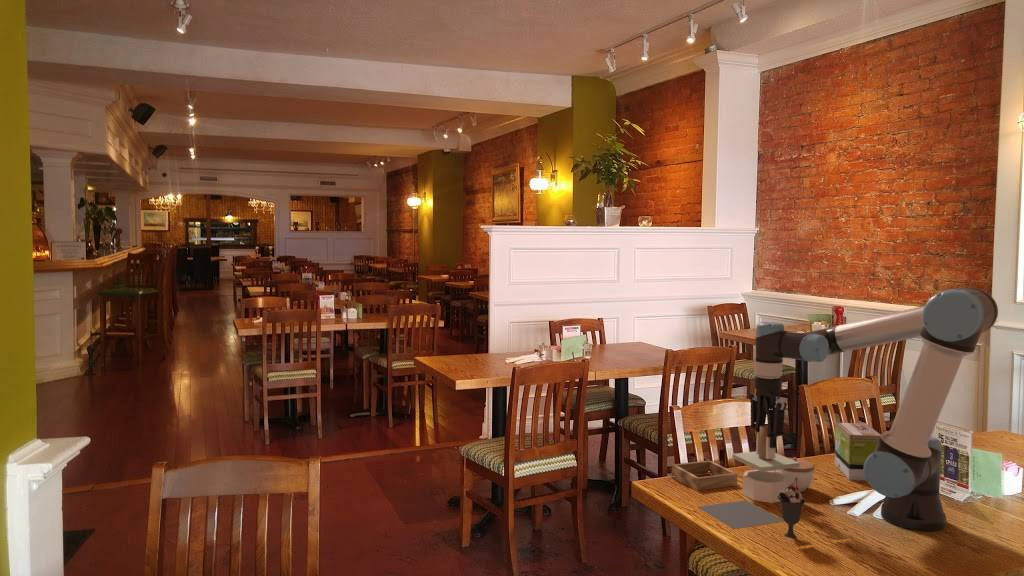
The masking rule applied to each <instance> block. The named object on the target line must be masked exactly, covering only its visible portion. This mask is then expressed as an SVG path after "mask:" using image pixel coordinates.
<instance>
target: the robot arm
mask: <svg viewBox="0 0 1024 576" xmlns="http://www.w3.org/2000/svg"><path fill="white" fill-rule="evenodd" d="M998 307H999V306H998V304H997V302H996V300H995V299H994V297H993V296H992V295H991V294H990V293H988V291H985V290H983V289H980V288H977V287H968V286H967V287H962V288H949V289H945V290H942V291H940V292H938V293H936V294H934V295H933V296H932V297H930V298H929V300H927V302H926V303H925V305H922V306H917V307H915V308H914V307H913V308H908V309H905V310H900V311H897V312H891V313H888V314H883V315H880V316H879V315H878V316H875V317H869V318H865V319H861V320H857V321H853V322H849V323H843V324H840V325H836V326H831V327H826V328H822V329H817V330H811V331H806V332H797V331H787V330H785V325H784V324H783V323H781V322H776V321H762V322H761V321H760V322H759V323H758V324H757V325H756V329H755V337H754V339H755V350H754V351H755V357H754V374H755V376H754V377H753V387H754V389H755V390H756V391H755V393H750V394H749V396H748V397H749V401H750V428H752V429H754V431H755V442H756V445H755V446H756V447H755V451H756V454H757V455H759V436H760V426H763V425H766V420H767V426H768V433H769V435H767V436H766V459H774V458H775V453H776V449H777V443H778V440H777V439H778V437H783V435H784V427H785V426H784V424H785V423H784V422H785V413H786V412H785V411H786V408H787V402H782V401H781V397H780V392H781V391H782V388H783V378H782V375H783V363H784V362H783V359H792V360H798V361H804V362H808V363H812V362H814V363H821V362H822V363H823V362H824V361H825V359H826V358H827V357H828V356H831V355H832V356H833V355H835V354H840V353H844V352H849V351H856V350H860V349H866V348H871V347H875V346H880V345H885V344H890V343H891V344H892V343H896V342H901V341H905V340H911V339H915V338H920V339H921V342H922V343H923V346H922V348H921V350H920V353H919V355H918V358H917V360H916V363H915V364H914V365H915V366H914V369H913V370H912V373H911V376H910V379H909V382H908V384H907V387H906V389H905V391H904V394H903V396H902V399H901V402H900V404H899V406H898V409H897V411H896V415H895V417H894V419H893V421H892V425H891V427H890V429H889V430H888V431H884V432H882V433H880V434H881V436H880V439H879V441H878V444H877V446H876V449H875V451H874V453H872V454H870V455H869V456H868V458H867V459H866V461H865V463H864V468H863V470H864V475H865V478H866V479H867V481H866V482H867V483H868V485H869V486H870V488H872V489H873V490H874V491H876V492H877V493H878V494H880V495H882V496H884V500H883V502H882V504H881V507H880V516H881V518H882V519H884V520H885V521H887V522H888V523H890V524H893V525H896V526H898V527H901V528H904V529H905V528H906V529H909V530H910V529H911V530H915V531H916V530H917V531H923V532H924V531H925V532H926V531H928V532H932V531H940V530H943V529H945V528H946V525H947V517H946V514H945V512H944V509H943V504H942V501H941V497H940V488H941V466H942V453H943V450H942V442H941V441H940V440H939V439H938V438H937V437H934V436H932V434H933V431H934V430H935V427H936V425H937V422H938V421H939V417H940V414H941V412H942V410H943V408H944V405H945V403H946V400H947V398H948V395H949V393H950V390H951V388H952V385H953V382H954V381H955V378H956V375H957V373H958V371H959V369H960V366H961V364H962V362H963V361H962V360H963V359H964V358H965V357H966V356H969V355H972V354H974V352H975V350H976V347H977V345H978V342H979V341H980V338H981V335H982V334H983V333H985V332H987V331H989V330H990V329H991V328H992V327H993V326H994V324H996V322H997V318H998V316H999V308H998Z"/></svg>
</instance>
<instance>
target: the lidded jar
mask: <svg viewBox="0 0 1024 576" xmlns="http://www.w3.org/2000/svg"><path fill="white" fill-rule="evenodd" d="M788 458H789V459H791V460H794V461H796V462H798V463H799V467H796V468H788V469H780V470H775V472H778V473H780V474H783V475H785V476H787V477H788V486H789V485H790V484H791V485H792V484H793V483H794V482H795V483H794V484H793V486H794V487H798V488H799V490H798V491H799V492H800V493H801V492H802V493H803V492H805V491H806V490H807V489H808V487H810V486H811V484H812V482H813V479H814V474H815V473H814V470H815V464H814V463H813V462H811V461H809V460H805V459H801V458H797V457H795V456H794V457H788ZM795 478H798V479H797V486H796V481H795Z"/></svg>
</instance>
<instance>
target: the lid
mask: <svg viewBox="0 0 1024 576" xmlns="http://www.w3.org/2000/svg"><path fill="white" fill-rule="evenodd" d="M767 435H769V433H768V425H766V424H765V425H763V426H760V436H759V455H757V454H756V450H755V451H747V452H739V453H732V459H734V460H736V461H738V462H739V463H742V464H744V465H747V466H748V467H750V468H752V469H754V470H759V471H761V472H763V471H776V470H780V469H788V468H796V467H799V463H798V462H796V461H794V460H791V459H789V458H790V457H787V456H784V455H782V454H779V453H777V452H775V458H774V459H766V436H767Z"/></svg>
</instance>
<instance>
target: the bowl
mask: <svg viewBox="0 0 1024 576" xmlns="http://www.w3.org/2000/svg"><path fill="white" fill-rule="evenodd" d="M787 487H788V477H787V476H785V475H783V474H780V473H778V472H776V470H771V471H763V472H761V471H759V470H757V469H750V470H745V471H744V473H743V475H742V495H743V496H745V497H747V498H749V499H750V500H752V501H758V502H764V503H769V504H773V503H781V502H780V500H779V499H778V496H779V493H781V492H783V491H784V490H785V488H787Z"/></svg>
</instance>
